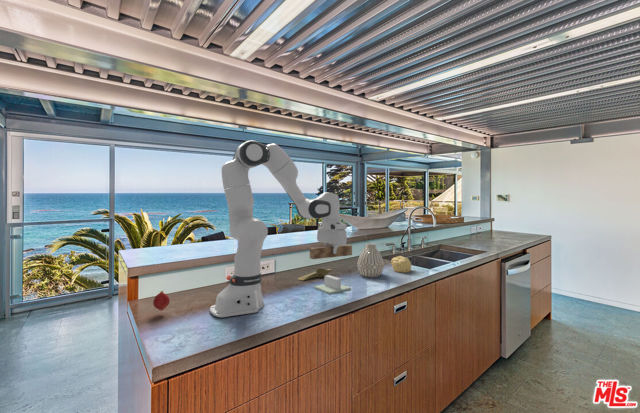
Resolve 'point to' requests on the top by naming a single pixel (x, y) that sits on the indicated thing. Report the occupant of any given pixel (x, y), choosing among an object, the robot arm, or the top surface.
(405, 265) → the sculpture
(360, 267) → the vase
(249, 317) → the top surface
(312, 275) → the tool
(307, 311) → the top surface
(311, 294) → the top surface
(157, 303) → the onion
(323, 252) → the walnut bar
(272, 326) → the top surface
